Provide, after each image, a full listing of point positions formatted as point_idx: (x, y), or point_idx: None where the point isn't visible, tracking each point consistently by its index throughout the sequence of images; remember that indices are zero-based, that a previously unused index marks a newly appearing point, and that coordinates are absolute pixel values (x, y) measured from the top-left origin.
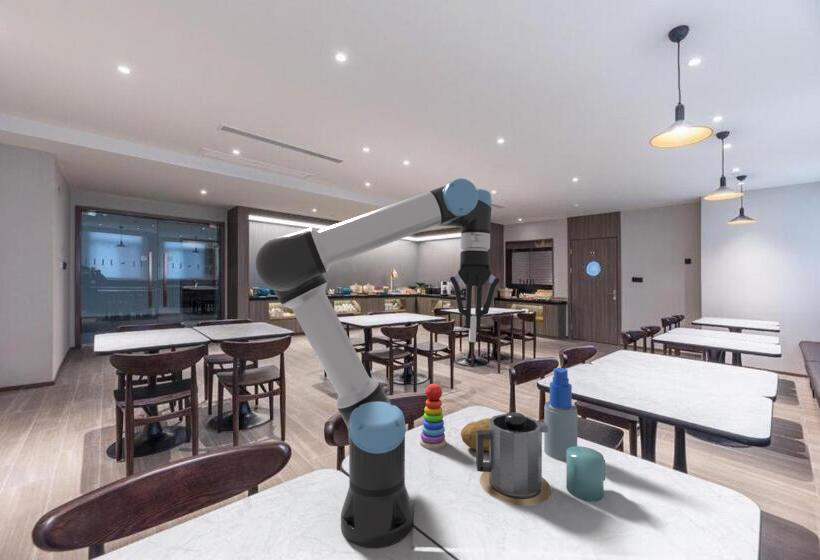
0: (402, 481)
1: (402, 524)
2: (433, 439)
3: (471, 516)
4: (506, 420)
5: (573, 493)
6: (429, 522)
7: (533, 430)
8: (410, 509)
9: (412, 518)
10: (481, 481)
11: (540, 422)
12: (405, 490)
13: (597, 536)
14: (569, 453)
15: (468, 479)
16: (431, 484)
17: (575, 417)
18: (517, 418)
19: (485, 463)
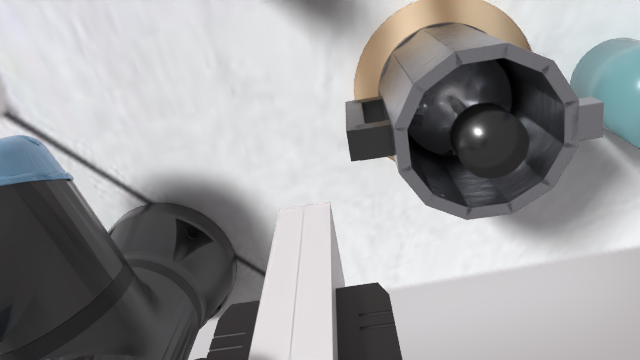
0: (198, 325)
1: (223, 302)
2: None
3: (339, 214)
4: (456, 152)
5: None
6: (263, 245)
7: (537, 184)
8: (226, 278)
9: (233, 267)
10: (358, 96)
11: (585, 108)
12: (207, 295)
13: (571, 222)
14: (628, 112)
15: (324, 81)
16: (238, 124)
17: None
18: (497, 172)
19: (371, 108)
